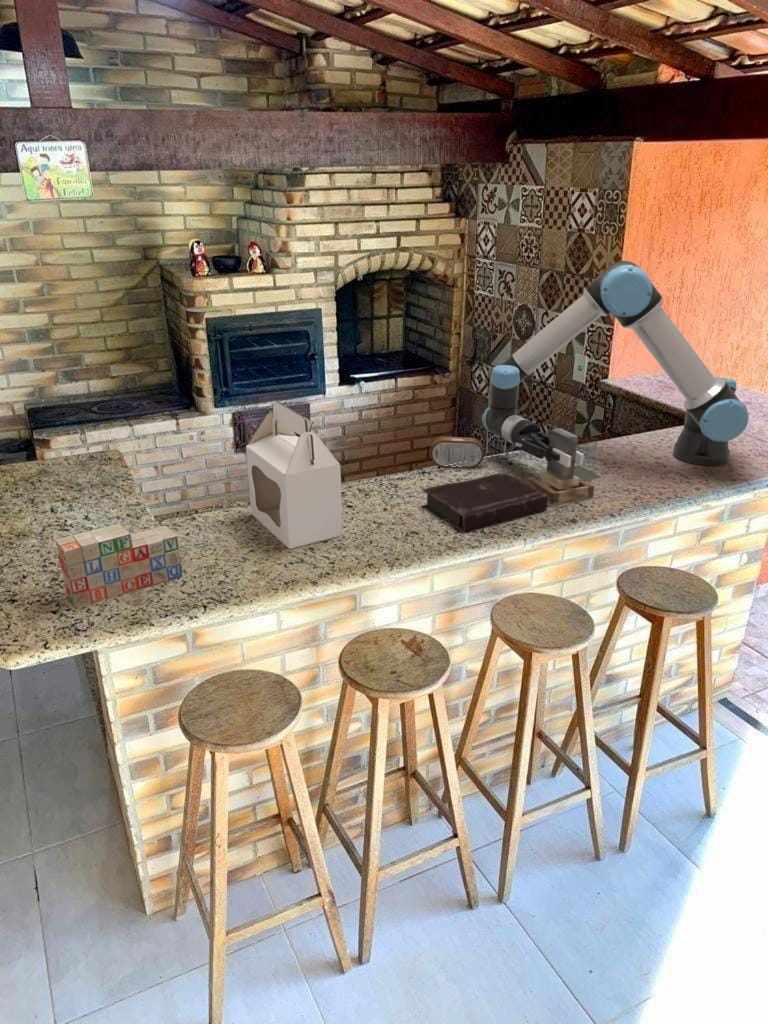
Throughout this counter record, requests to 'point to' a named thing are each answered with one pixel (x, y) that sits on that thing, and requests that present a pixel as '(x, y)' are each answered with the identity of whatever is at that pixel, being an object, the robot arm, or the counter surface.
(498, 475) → the diary
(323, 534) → the gable box
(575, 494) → the tray
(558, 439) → the grey tall block
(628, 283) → the robot arm
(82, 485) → the counter surface
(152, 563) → the stack of blocks
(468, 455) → the tin
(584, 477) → the mat
